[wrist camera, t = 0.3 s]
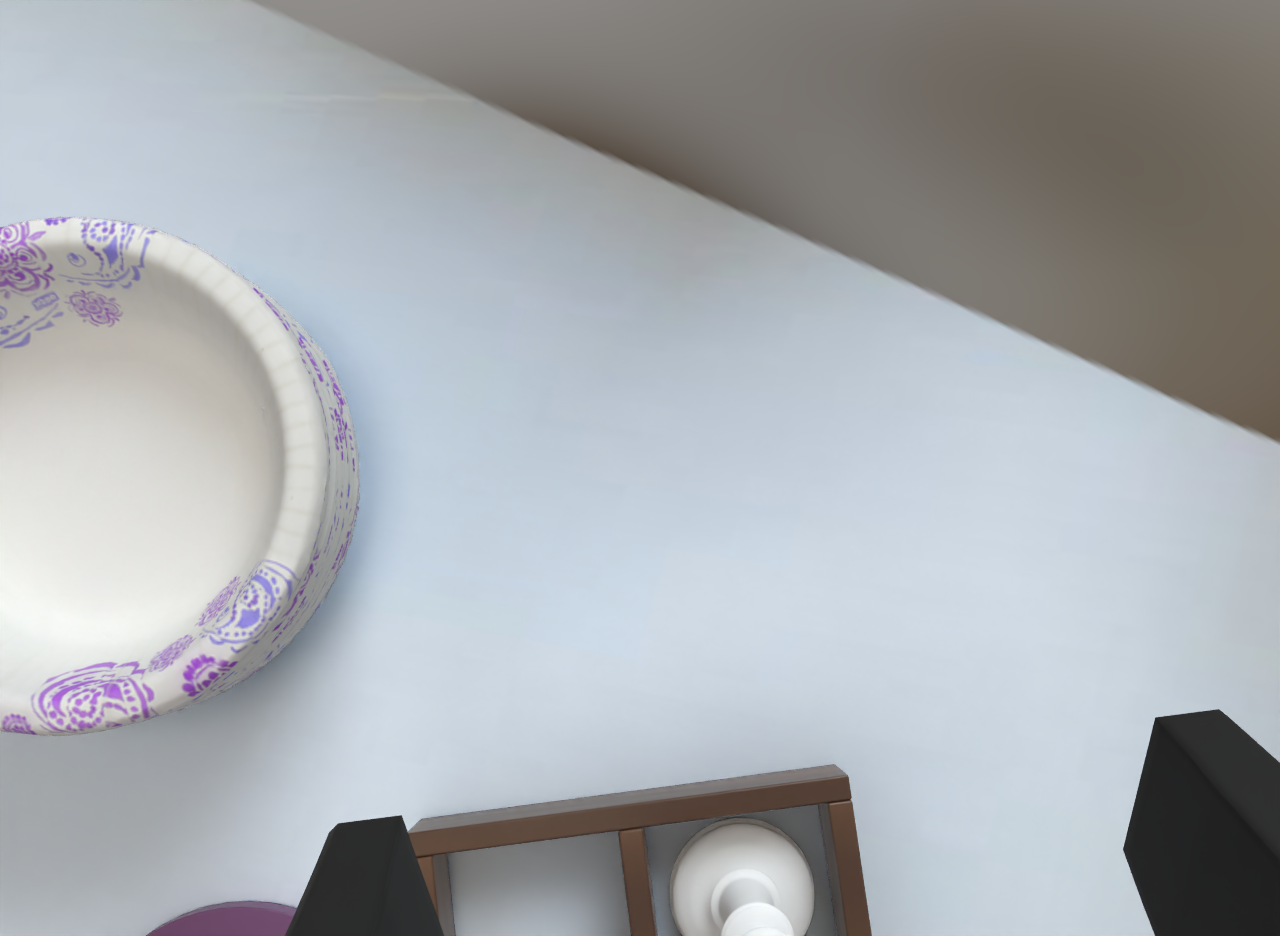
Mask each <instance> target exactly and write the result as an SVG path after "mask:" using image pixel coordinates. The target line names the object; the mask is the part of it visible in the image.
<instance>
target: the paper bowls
mask: <svg viewBox="0 0 1280 936" xmlns="http://www.w3.org/2000/svg"><path fill="white" fill-rule="evenodd" d="M359 487H360V481H359V454H358V447H357V442H356V436H355V432H354V427H353V420H352V418H351V415H350V411H349V407H348V404H347V400H346V397H345V395H344V392H343V390H342V388H341V385H340V383H339V381H338V378H337V376H336V374H335V372H334V369H333V367H332V365H331V363H330V362H329V360H328V359H327V357H326V356H325V354H324V353H323V352H322V350H321V349H320V348H319V346H318V345H317V344H316V342H315V341H314V340H313V339H312V338H311V337H310V336H309V335H308V334H307V332H306V331H305V330H304V329H303V328H302V327H301V326H300V325H299V324H298V323H297V322H296V321H295V320H294V318H293V317H292V316H291V315H290V314H289V313H288V312H287V311H286V310H285V309H284V308H283V307H281V306H280V305H279V304H278V303H277V302H276V301H275V300H273V299H272V298H271V297H270V296H269V295H267V294H266V293H265V292H264V291H262V290H261V289H260V288H259V287H257V286H256V285H255V284H253V283H252V282H250V281H249V280H248V279H246V278H245V277H244V276H242V275H240V274H239V273H237V272H236V271H234V270H233V269H232V268H231V267H229V266H228V265H226V264H225V263H224V262H222V261H221V260H219V259H218V258H217V257H215V256H214V255H212V254H211V253H209V252H207V251H205V250H203V249H202V248H200V247H198V246H196V245H194V244H191V243H189V242H187V241H185V240H183V239H181V238H179V237H177V236H174V235H171V234H168V233H165V232H162V231H159V230H157V229H155V228H151V227H146V226H143V225H139V224H136V223H130V222H124V221H116V220H108V219H98V218H87V217H57V218H48V219H38V220H31V221H26V222H20V223H16V224H10V225H8V226H5V227H0V731H3V732H14V733H23V734H33V735H53V736H65V735H78V734H86V733H92V732H98V731H104V730H109V729H114V728H118V727H122V726H126V725H130V724H134V723H138V722H142V721H145V720H149V719H152V718H155V717H158V716H161V715H165V714H168V713H172V712H175V711H178V710H182V709H184V708H186V707H189V706H191V705H194V704H196V703H199V702H202V701H204V700H206V699H209V698H211V697H213V696H215V695H218V694H220V693H223V692H225V691H226V690H228V689H229V688H231V687H233V686H234V685H236V684H238V683H239V682H241V681H243V680H245V679H247V678H248V677H250V676H251V675H252V674H253V673H255V672H257V671H258V670H260V669H261V668H262V667H264V666H265V665H266V664H267V663H268V662H269V661H270V660H272V659H273V658H275V657H276V656H277V655H278V654H279V653H280V652H281V651H282V650H283V649H284V647H285V646H287V645H288V644H290V643H291V642H292V640H293V639H294V637H295V635H296V634H297V633H298V632H299V631H301V630H302V629H303V627H304V626H305V625H306V623H307V622H308V621H309V619H310V618H311V617H312V616H313V614H314V613H315V612H316V610H317V609H318V608H319V607H320V605H321V604H322V602H323V601H324V600H325V598H326V596H327V594H328V592H329V590H330V588H331V586H332V584H333V583H334V581H335V579H336V577H337V574H338V571H339V570H340V568H341V566H342V565H343V562H344V560H345V557H346V553H347V550H348V548H349V545H350V543H351V540H352V536H353V530H354V527H355V522H356V518H357V511H358V509H359V507H358V503H359V500H360V493H359Z"/></svg>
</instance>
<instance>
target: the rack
mask: <svg viewBox="0 0 1280 936" xmlns="http://www.w3.org/2000/svg"><path fill="white" fill-rule="evenodd" d="M850 799H851V791H850V784H849V777H848V775H847V774H845V773H844V772H843V771H842V770H841V769H840V768H838V767H837V766H836V765H834V764H833V765H826V766H818V767H811V768H803V769H796V770H788V771H781V772H773V773H765V774H758V775H750V776H743V777H735V778H728V779H720V780H712V781H705V782H697V783H690V784H682V785H675V786H667V787H660V788H652V789H644V790H637V791H629V792H622V793H614V794H607V795H599V796H592V797H584V798H576V799H569V800H561V801H554V802H546V803H539V804H531V805H524V806H516V807H508V808H501V809H493V810H486V811H478V812H471V813H463V814H456V815H448V816H440V817H433V818H425V819H421V820H420V821H419V822H418V823H417V824H416V825H414V826H413V827H412V828H411V829H410V830H409V831H408V835H409V838H410V840H411V843H412V846H413V849H414V852H415V855H416V857H417V860H418V863H419V866H420V869H421V871H422V874H423V877H424V880H425V883H426V885H427V888H428V891H429V894H430V897H431V900H432V902H433V905H434V908H435V911H436V914H437V916H438V919H439V922H440V925H441V928H442V930H443V933H444V936H455V927H454V918H453V909H452V899H451V890H450V880H449V871H448V862H447V853H454V852H461V851H469V850H476V849H484V848H491V847H499V846H506V845H514V844H522V843H529V842H537V841H544V840H552V839H559V838H567V837H574V836H582V835H589V834H597V833H604V832H612V831H619V832H618V835H619V843H620V851H621V859H622V867H623V875H624V883H625V891H626V899H627V907H628V916H629V924H630V932H631V936H658V931H657V923H656V915H655V907H654V899H653V891H652V883H651V875H650V868H649V860H648V852H647V844H646V836H645V828H644V827H650V826H657V825H665V824H672V823H680V822H687V821H695V820H702V819H710V818H717V817H725V816H733V815H740V814H748V813H755V812H763V811H770V810H778V809H785V808H793V807H800V806H808V805H815V804H818V806H819V813H820V820H821V827H822V834H823V841H824V847H825V854H826V861H827V868H828V875H829V882H830V889H831V896H832V903H833V910H834V917H835V924H836V931H837V936H872V934H871V927H870V920H869V913H868V906H867V900H866V893H865V886H864V879H863V873H862V866H861V859H860V852H859V845H858V839H857V832H856V825H855V818H854V811H853V805H852V801H851V800H850Z"/></svg>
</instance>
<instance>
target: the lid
mask: <svg viewBox="0 0 1280 936" xmlns="http://www.w3.org/2000/svg"><path fill="white" fill-rule="evenodd" d="M296 910H297V909H296V908H294V907H289V906H285V905H280V904H275V903H269V902H255V901H242V902H227V903H222V904H217V905H212V906H207V907H203V908H200V909H197V910H194V911H191V912H189V913H186V914H183V915H181V916H179V917H177V918H175V919H173V920H171V921H169V922H167V923H165V924H163V925H161V926H160V927H158V928H157V929H155V930H154V931H152V932H151V933H149V934H148V935H146V936H285V934H286V932H287V930H288V927H289V925H290V923H291V921H292V919H293V916H294V914H295V912H296Z"/></svg>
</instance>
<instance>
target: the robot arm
mask: <svg viewBox="0 0 1280 936" xmlns="http://www.w3.org/2000/svg"><path fill="white" fill-rule="evenodd" d="M1123 851H1124V853H1125V856H1126V859H1127V862H1128V864H1129V867H1130V870H1131V873H1132V875H1133V878H1134V881H1135V884H1136V886H1137V889H1138V892H1139V895H1140V897H1141V900H1142V903H1143V906H1144V908H1145V911H1146V913H1147V916H1148V918H1149V921H1150V924H1151V926H1152V929H1153V931H1154V934H1155V936H1280V763H1279V762H1278V761H1277V760H1276V759H1275V758H1274V757H1273V756H1272V755H1270V754H1269V753H1268V752H1267V751H1266V750H1265V749H1264V748H1263V747H1262V746H1260V745H1259V744H1258V743H1257V742H1256V741H1255V740H1254V739H1253V738H1251V737H1250V736H1249V735H1248V734H1247V733H1246V732H1245V731H1244V730H1242V729H1241V728H1240V727H1239V726H1238V725H1237V724H1236V723H1235V722H1233V721H1232V720H1231V719H1230V718H1229V717H1228V716H1227V715H1225V714H1224V713H1223V712H1222V711H1220V710H1219V709H1218V710H1210V711H1203V712H1195V713H1187V714H1179V715H1172V716H1164V717H1156V718H1155V721H1154V725H1153V729H1152V733H1151V738H1150V742H1149V746H1148V750H1147V754H1146V758H1145V762H1144V766H1143V770H1142V774H1141V778H1140V783H1139V787H1138V791H1137V795H1136V799H1135V803H1134V807H1133V811H1132V815H1131V819H1130V823H1129V827H1128V832H1127V836H1126V840H1125V844H1124V848H1123ZM285 936H444V933H443V930H442V928H441V925H440V922H439V919H438V916H437V914H436V911H435V908H434V905H433V902H432V900H431V897H430V894H429V891H428V888H427V885H426V883H425V880H424V877H423V874H422V871H421V869H420V866H419V863H418V860H417V857H416V855H415V852H414V849H413V846H412V843H411V840H410V838H409V835H408V832H407V829H406V826H405V824H404V821H403V818H402V815H401V816H393V817H385V818H377V819H370V820H362V821H354V822H347V823H339V824H337V825H336V826H335V827H334V828H333V829H332V830H331V831H330V832H329V834H328V837H327V839H326V842H325V844H324V846H323V849H322V851H321V854H320V856H319V859H318V861H317V864H316V866H315V868H314V871H313V873H312V875H311V878H310V880H309V882H308V885H307V887H306V889H305V892H304V894H303V896H302V898H301V901H300V903H299V905H298V907H297V910H296V912H295V914H294V916H293V919H292V921H291V923H290V925H289V927H288V930H287V932H286V934H285Z"/></svg>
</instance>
